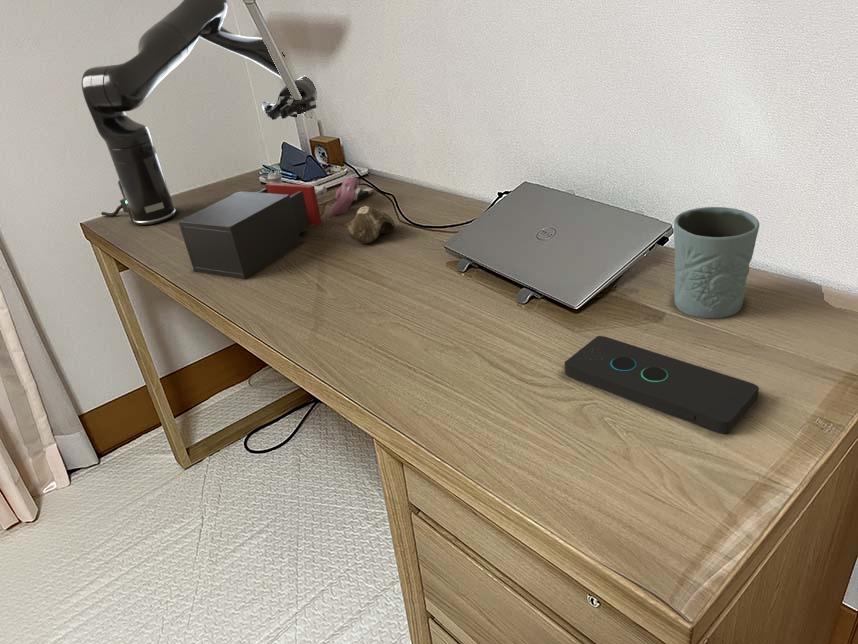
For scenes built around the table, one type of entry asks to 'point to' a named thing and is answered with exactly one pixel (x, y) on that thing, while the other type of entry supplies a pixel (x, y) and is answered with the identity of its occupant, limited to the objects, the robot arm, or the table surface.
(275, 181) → the rook chess piece
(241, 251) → the dark grey box
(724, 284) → the grey-green embossed cup
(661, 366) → the smart home device
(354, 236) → the fossilized seashell
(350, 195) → the pink irregular lump
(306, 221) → the drawer
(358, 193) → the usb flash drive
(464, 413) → the table surface
